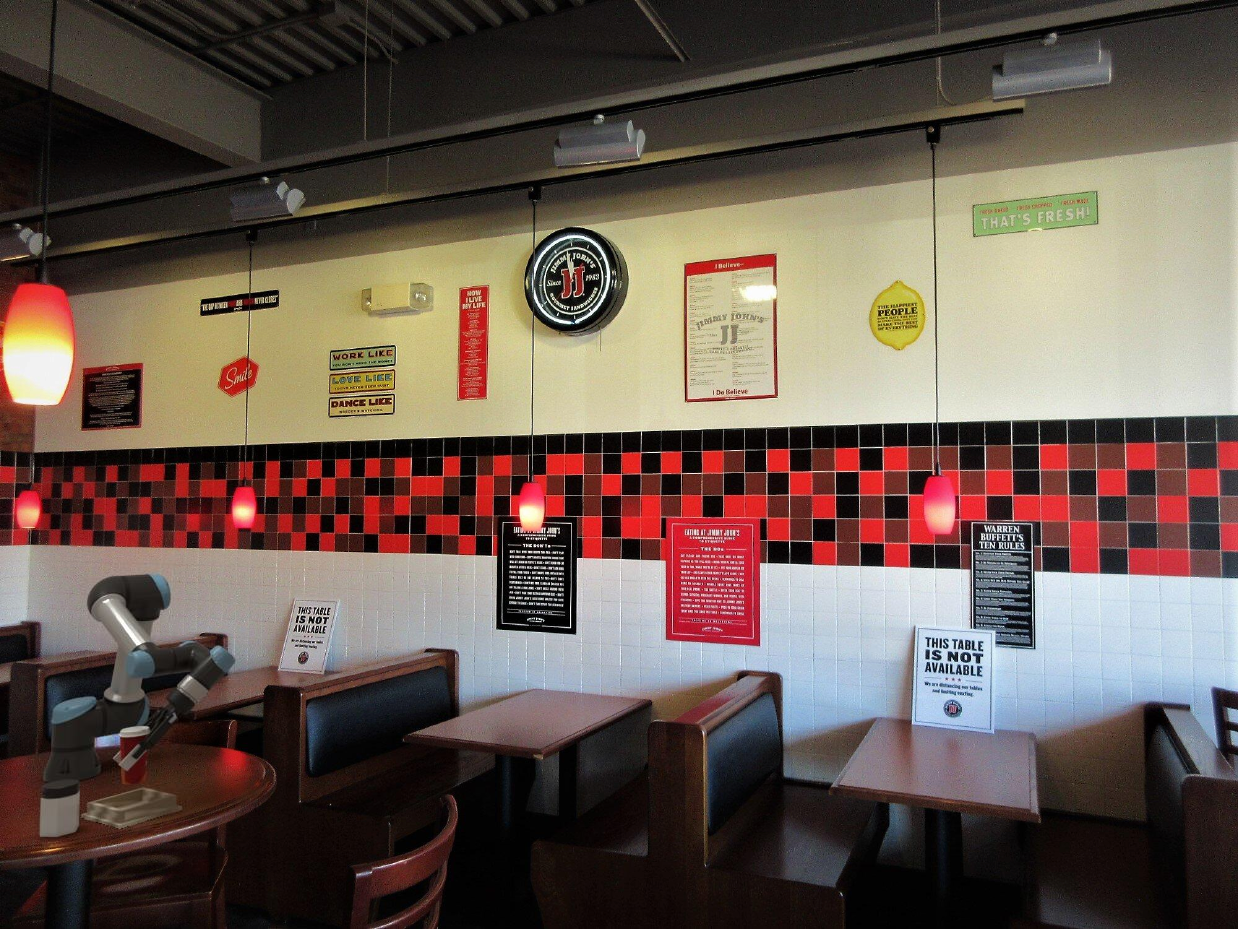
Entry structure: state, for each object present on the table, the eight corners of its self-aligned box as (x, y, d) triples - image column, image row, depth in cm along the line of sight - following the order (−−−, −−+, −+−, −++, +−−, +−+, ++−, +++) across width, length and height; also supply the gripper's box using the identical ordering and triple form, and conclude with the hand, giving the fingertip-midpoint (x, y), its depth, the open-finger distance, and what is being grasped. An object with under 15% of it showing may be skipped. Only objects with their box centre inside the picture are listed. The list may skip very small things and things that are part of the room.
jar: (43, 829, 224) (45, 781, 225) (80, 824, 227) (82, 777, 228) (36, 840, 216) (38, 790, 217) (75, 835, 219) (76, 786, 220)
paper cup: (156, 778, 238) (157, 726, 239) (132, 786, 230) (133, 732, 231) (134, 776, 240) (135, 725, 241) (110, 784, 233) (111, 731, 234)
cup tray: (81, 818, 232) (81, 802, 232) (143, 800, 247) (143, 786, 247) (119, 829, 223) (120, 813, 223) (181, 810, 238) (182, 795, 238)
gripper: (206, 709, 238) (138, 781, 227) (187, 698, 254) (123, 765, 243) (185, 692, 235) (115, 764, 224) (167, 682, 251) (101, 749, 240)
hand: (119, 764), depth 233 cm, fingers closed on paper cup, 8 cm apart
